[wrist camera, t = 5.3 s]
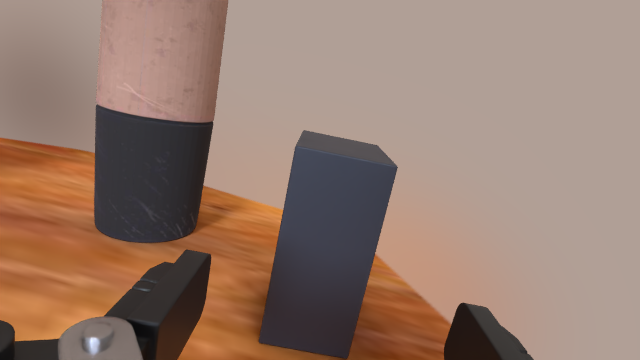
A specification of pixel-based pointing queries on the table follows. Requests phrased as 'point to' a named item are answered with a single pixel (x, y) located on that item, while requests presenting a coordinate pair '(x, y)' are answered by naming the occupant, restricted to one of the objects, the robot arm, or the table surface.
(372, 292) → the table surface
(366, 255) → the slate block
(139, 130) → the travel mug
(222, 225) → the table surface
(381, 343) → the table surface
